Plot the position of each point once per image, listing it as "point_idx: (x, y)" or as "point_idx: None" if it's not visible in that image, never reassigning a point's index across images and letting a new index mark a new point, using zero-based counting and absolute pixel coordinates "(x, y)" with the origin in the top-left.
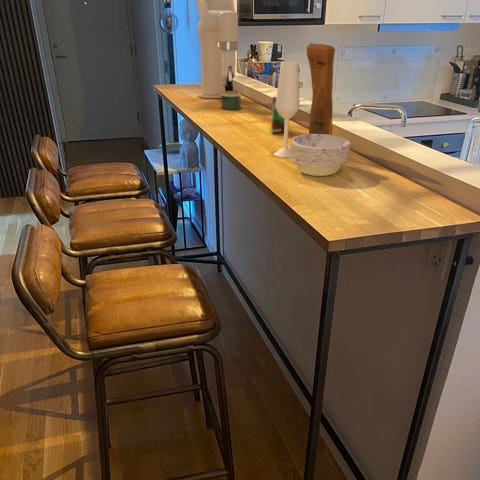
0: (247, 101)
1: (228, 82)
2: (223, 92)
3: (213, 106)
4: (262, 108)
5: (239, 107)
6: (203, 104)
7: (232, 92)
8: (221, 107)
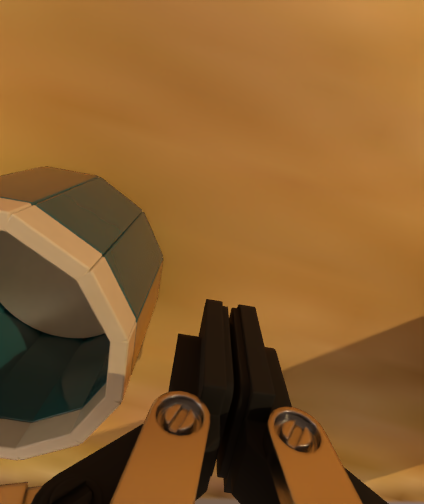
0: (345, 461)
1: (64, 482)
2: (68, 267)
3: (207, 119)
4: (30, 463)
5: (12, 326)
6: (378, 29)
7: (105, 388)
8: (39, 167)
